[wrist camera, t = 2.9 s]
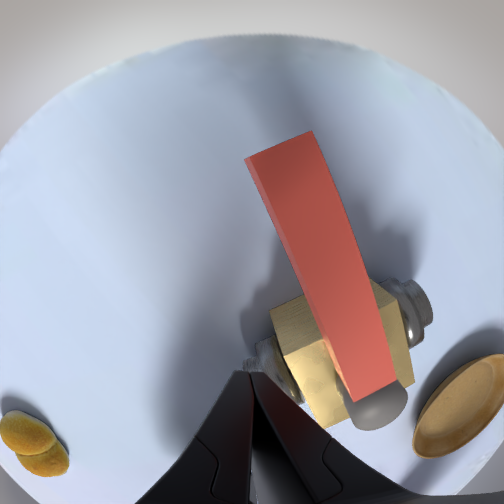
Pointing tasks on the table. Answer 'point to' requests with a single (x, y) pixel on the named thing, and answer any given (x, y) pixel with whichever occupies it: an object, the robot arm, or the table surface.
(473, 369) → the plant saucer
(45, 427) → the bread roll
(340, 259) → the lever
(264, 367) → the valve pipe
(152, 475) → the table surface
